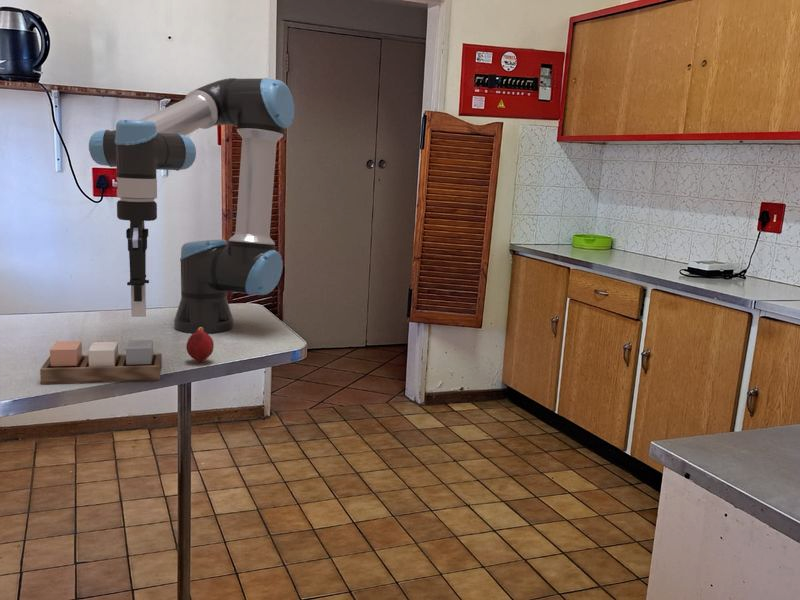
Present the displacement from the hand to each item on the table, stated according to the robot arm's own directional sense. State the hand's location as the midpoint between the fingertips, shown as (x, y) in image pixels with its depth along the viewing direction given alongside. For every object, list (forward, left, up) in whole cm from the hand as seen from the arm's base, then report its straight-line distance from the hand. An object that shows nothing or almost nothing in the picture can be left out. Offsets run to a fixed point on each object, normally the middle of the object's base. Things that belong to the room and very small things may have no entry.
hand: (138, 315), depth 151 cm
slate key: (0, 0, -9) cm, 9 cm away
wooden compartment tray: (+7, 0, -12) cm, 14 cm away
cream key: (+7, 0, -10) cm, 12 cm away
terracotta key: (+14, 0, -9) cm, 17 cm away
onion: (-12, -8, -13) cm, 19 cm away
